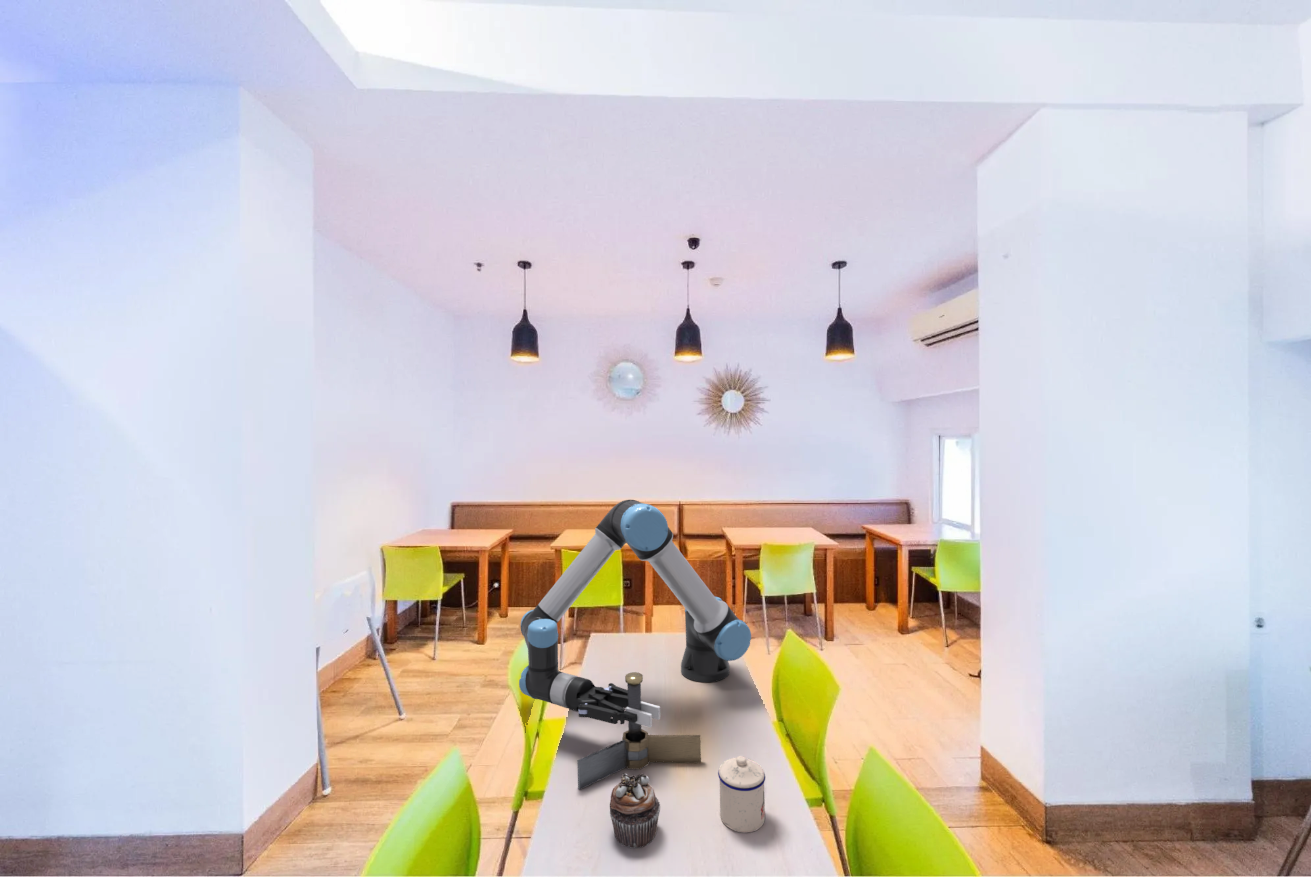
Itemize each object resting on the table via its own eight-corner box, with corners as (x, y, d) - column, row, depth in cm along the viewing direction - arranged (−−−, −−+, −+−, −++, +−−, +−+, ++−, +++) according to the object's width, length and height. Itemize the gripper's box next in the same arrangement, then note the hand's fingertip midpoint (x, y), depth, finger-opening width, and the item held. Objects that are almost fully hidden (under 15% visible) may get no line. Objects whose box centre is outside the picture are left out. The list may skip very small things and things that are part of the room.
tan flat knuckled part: (700, 754, 125) (699, 729, 125) (701, 769, 119) (700, 743, 119) (624, 753, 126) (624, 728, 126) (622, 769, 120) (621, 743, 120)
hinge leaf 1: (638, 750, 127) (638, 726, 127) (653, 762, 122) (653, 736, 122) (572, 781, 116) (571, 754, 116) (585, 795, 112) (585, 767, 112)
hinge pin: (644, 748, 125) (643, 672, 125) (643, 759, 121) (642, 680, 121) (627, 748, 125) (626, 672, 125) (625, 759, 121) (624, 680, 121)
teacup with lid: (773, 830, 101) (772, 769, 101) (727, 838, 99) (726, 776, 99) (750, 789, 113) (749, 734, 113) (709, 795, 111) (708, 739, 111)
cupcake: (609, 853, 96) (608, 798, 96) (610, 815, 106) (609, 765, 106) (662, 850, 97) (661, 795, 97) (659, 812, 107) (658, 762, 106)
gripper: (593, 693, 139) (672, 716, 127) (551, 723, 125) (636, 752, 113) (592, 665, 139) (672, 685, 127) (551, 691, 125) (635, 717, 113)
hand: (655, 716), depth 120 cm, fingers closed on hinge pin, 3 cm apart
